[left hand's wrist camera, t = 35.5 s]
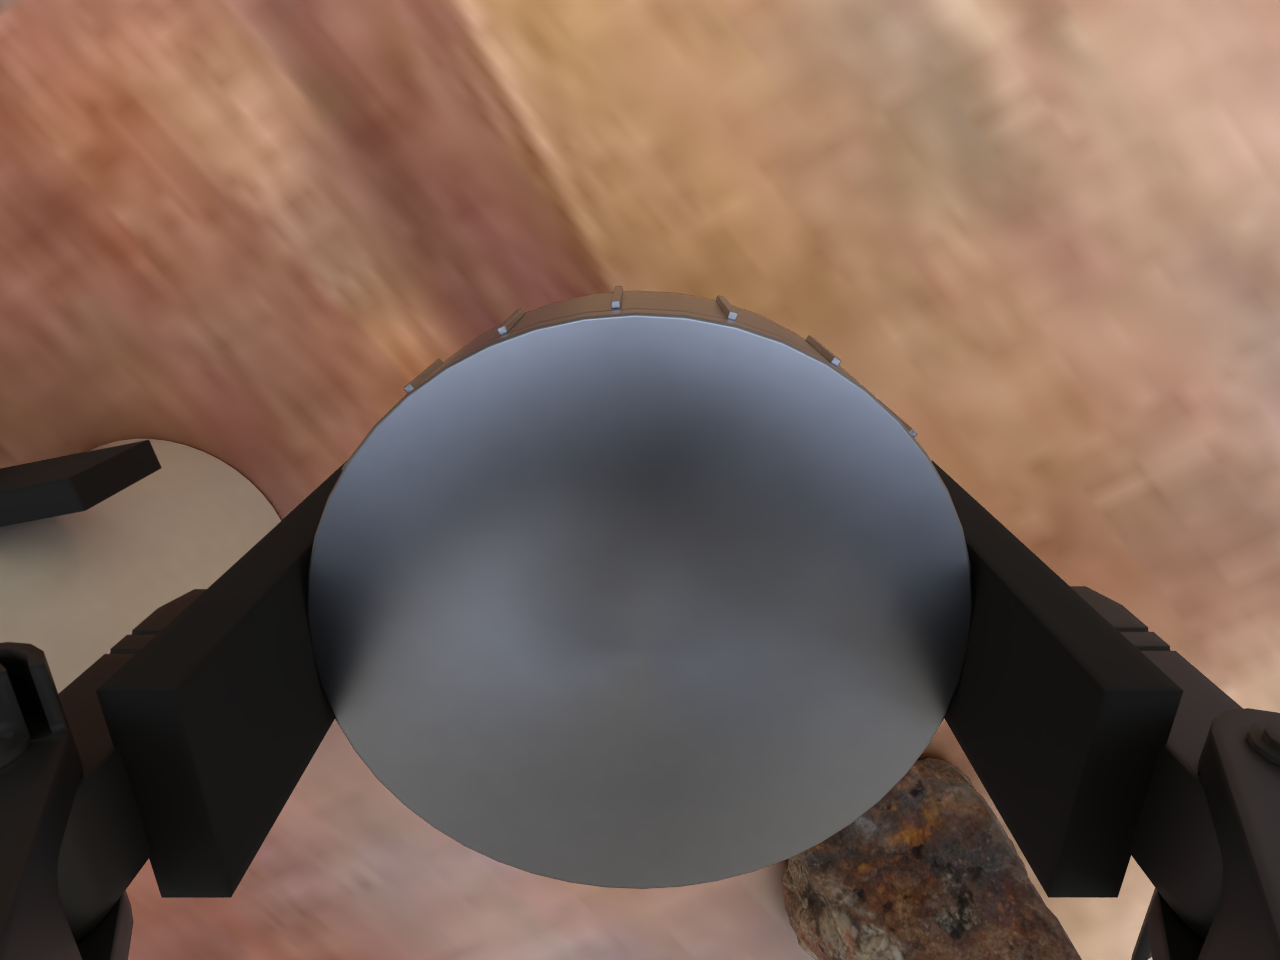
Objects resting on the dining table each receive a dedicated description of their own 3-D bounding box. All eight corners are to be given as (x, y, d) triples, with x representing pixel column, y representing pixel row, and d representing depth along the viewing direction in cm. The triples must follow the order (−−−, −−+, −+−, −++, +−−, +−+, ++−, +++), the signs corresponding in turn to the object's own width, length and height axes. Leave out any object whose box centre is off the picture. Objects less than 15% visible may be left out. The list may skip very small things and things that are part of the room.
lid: (239, 482, 11) (155, 543, 9) (760, 158, 10) (789, 149, 8) (557, 858, 14) (544, 965, 12) (1003, 655, 13) (1070, 741, 11)
